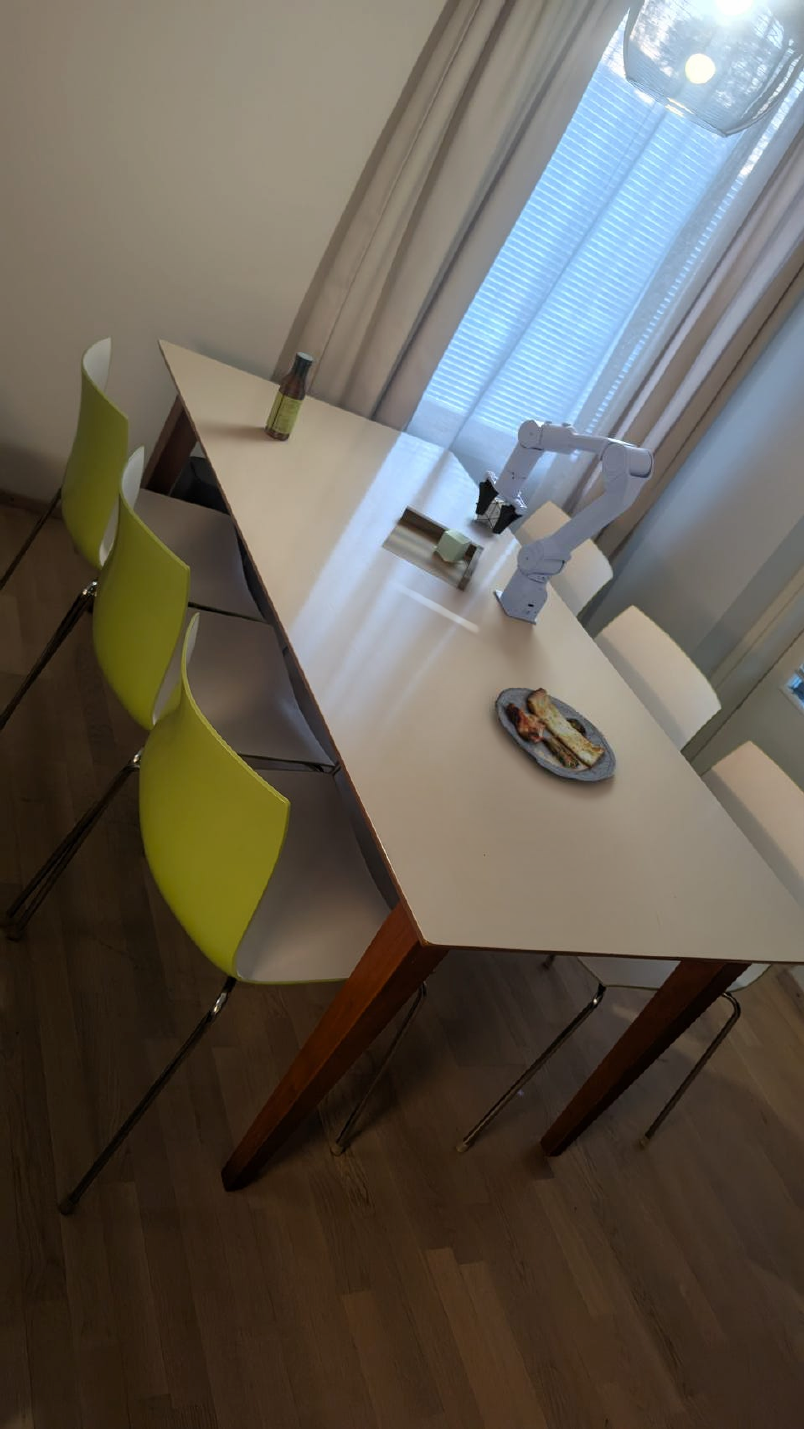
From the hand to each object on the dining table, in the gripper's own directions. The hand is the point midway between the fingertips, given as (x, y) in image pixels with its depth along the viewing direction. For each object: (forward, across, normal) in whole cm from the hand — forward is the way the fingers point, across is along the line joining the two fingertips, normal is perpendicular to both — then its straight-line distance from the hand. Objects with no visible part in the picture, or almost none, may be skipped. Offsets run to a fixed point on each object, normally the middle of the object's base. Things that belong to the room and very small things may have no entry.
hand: (487, 523), depth 237 cm
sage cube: (+8, -2, +8) cm, 12 cm away
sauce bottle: (+10, +45, +32) cm, 56 cm away
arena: (+9, -2, +13) cm, 16 cm away
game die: (+10, +17, -17) cm, 26 cm away
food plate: (+10, -61, +20) cm, 65 cm away
